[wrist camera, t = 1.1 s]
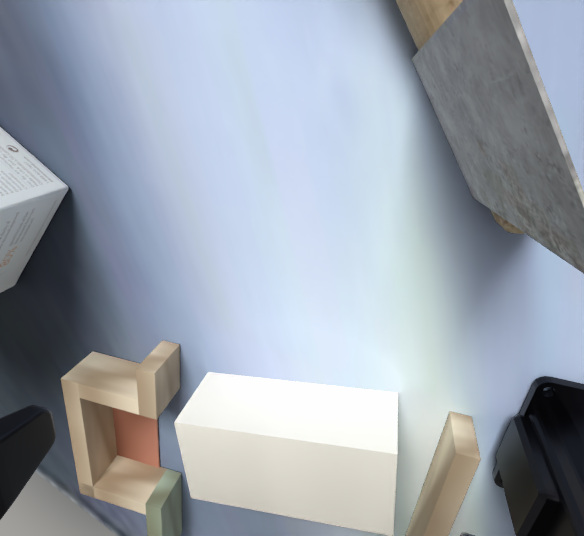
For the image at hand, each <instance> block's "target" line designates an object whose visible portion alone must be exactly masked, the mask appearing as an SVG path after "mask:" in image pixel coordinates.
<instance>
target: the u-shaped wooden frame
mask: <svg viewBox="0 0 584 536" xmlns="http://www.w3.org/2000/svg"><path fill="white" fill-rule="evenodd" d="M61 383H62V389H63V395H64V401H65V407H66V412H67V418H68V424H69V430H70V436H71V442H72V448H73V454H74V459H75V465H76V471H77V477H78V483H79V489H80V493H82V494H85V495H88V496H91V497H94V498H97V499H100V500H103V501H106V502H109V503H112V504H115V505H118V506H121V507H124V508H127V509H130V510H133V511H136V512H139V513H142V514H145V515H146V520H147V535H148V536H180V535H181V533H182V490H181V473H179V472H176V471H173V470H169V469H166V468H163V467H160V458H159V436H158V417H159V416H160V415H161V413H162V412H163V411H164V409H165V408H166V407H167V405H168V404H169V402H170V401H171V400H172V398H173V397H174V396H175V394H176V393H177V392H178V390H179V389H180V345H179V344H175V343H171V342H167V341H163V340H162V341H161V342H160V344H159V345H158V346H157V347H156V348H155V349H154V350H153V351H152V352H151V353H150V354H149V355H148V356H147V357H146V358H145V359H144V360H143V362H142V363H141V364H139V363H136V362H132V361H128V360H124V359H120V358H116V357H113V356H109V355H105V354H101V353H97V352H93V351H92V352H91V353H90V354H89V355H88V356H87V357H85V358H84V359H83V360H82V361H81V362H80V363H78V364H77V365H76V366H75V367H74V368H73V369H71V370H70V371H69V372H68V373H67V374H66V375H64V376H63V377H62V378H61ZM480 460H481V459H480V454H479V449H478V444H477V440H476V435H475V430H474V425H473V421H472V417H470V416H466V415H462V414H458V413H454V412H449V415H448V418H447V421H446V423H445V426H444V429H443V432H442V435H441V437H440V440H439V443H438V446H437V449H436V451H435V454H434V457H433V460H432V463H431V465H430V468H429V471H428V474H427V477H426V479H425V482H424V485H423V488H422V491H421V493H420V496H419V499H418V502H417V505H416V507H415V510H414V513H413V516H412V519H411V521H410V524H409V527H408V530H407V533H406V535H405V536H448V535H449V532H450V530H451V528H452V525H453V523H454V521H455V518H456V516H457V514H458V511H459V509H460V507H461V504H462V502H463V500H464V497H465V495H466V493H467V490H468V488H469V486H470V483H471V481H472V479H473V476H474V474H475V472H476V469H477V467H478V465H479V462H480Z"/></svg>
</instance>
